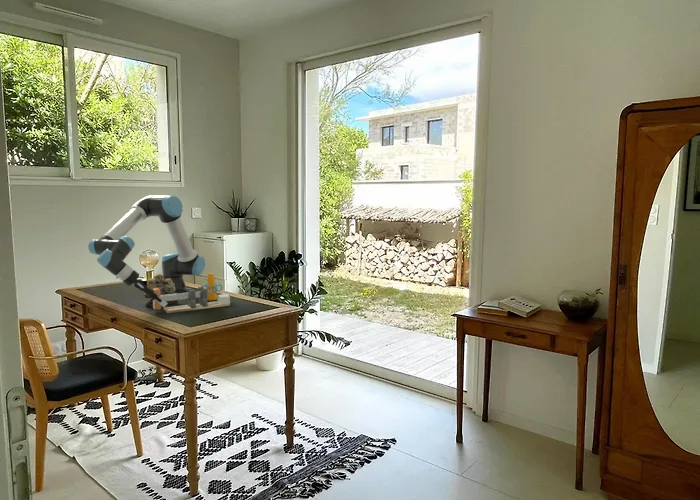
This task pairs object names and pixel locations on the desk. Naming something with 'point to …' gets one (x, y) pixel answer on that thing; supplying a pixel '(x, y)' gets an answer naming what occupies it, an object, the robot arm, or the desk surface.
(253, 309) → the desk surface
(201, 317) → the desk surface
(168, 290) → the brown rough lump
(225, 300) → the block
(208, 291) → the sippy cup
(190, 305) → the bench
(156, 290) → the shaft
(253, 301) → the desk surface
